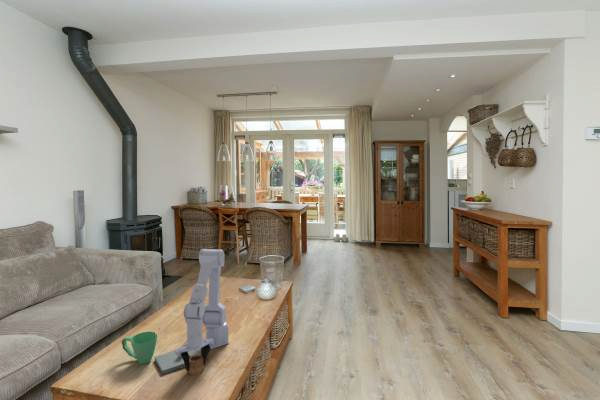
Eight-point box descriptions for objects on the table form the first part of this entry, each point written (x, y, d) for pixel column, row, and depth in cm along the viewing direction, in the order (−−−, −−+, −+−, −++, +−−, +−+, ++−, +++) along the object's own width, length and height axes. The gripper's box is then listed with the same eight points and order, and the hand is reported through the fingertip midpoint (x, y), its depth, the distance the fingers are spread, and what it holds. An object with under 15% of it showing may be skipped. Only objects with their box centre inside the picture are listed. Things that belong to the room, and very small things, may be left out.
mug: (162, 355, 137) (162, 332, 137) (149, 368, 128) (148, 344, 127) (130, 352, 139) (130, 330, 139) (115, 365, 130) (114, 341, 129)
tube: (199, 364, 130) (199, 352, 130) (205, 371, 126) (204, 359, 126) (186, 369, 127) (185, 357, 127) (190, 376, 123) (190, 363, 122)
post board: (197, 346, 144) (197, 335, 144) (207, 358, 135) (207, 347, 134) (154, 360, 133) (154, 348, 133) (162, 374, 124) (162, 362, 123)
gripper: (178, 343, 118) (179, 379, 119) (216, 332, 127) (217, 365, 128) (173, 335, 123) (174, 369, 124) (209, 325, 132) (210, 357, 133)
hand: (195, 367), depth 126 cm, fingers closed on tube, 6 cm apart
